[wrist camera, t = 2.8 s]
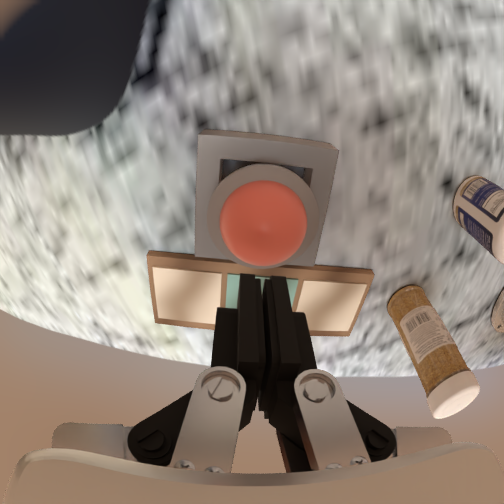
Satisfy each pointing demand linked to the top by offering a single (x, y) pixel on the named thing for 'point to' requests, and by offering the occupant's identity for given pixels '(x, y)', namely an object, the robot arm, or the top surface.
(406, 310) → the sprinkles bottle
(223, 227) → the dome button
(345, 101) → the top surface
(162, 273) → the board
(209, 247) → the button housing
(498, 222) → the pill bottle
